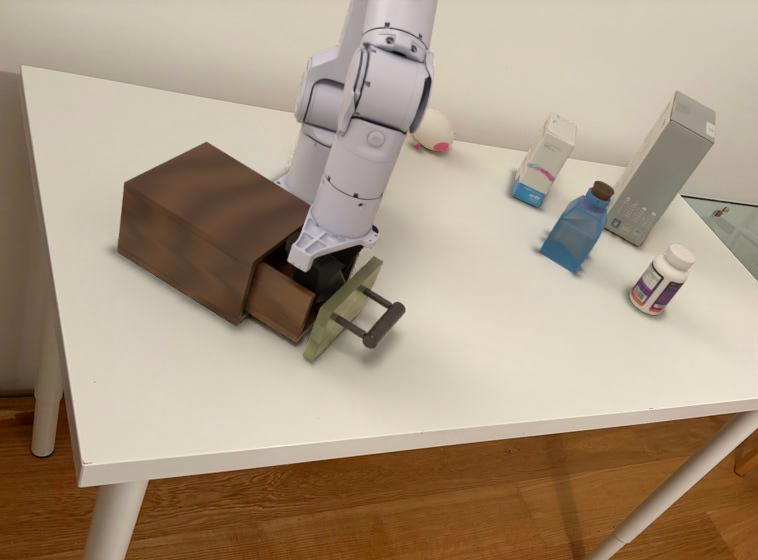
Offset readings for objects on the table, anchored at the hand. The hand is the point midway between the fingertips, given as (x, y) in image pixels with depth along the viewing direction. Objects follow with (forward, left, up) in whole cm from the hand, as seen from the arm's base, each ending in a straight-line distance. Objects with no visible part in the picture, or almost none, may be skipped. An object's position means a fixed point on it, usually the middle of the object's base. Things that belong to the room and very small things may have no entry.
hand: (316, 289), depth 74 cm
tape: (0, +1, 0) cm, 1 cm away
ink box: (-53, +10, -5) cm, 54 cm away
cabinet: (0, -12, -4) cm, 13 cm away
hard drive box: (-63, +26, -5) cm, 68 cm away
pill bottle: (-41, +34, -5) cm, 54 cm away
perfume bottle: (-41, +20, -5) cm, 46 cm away
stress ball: (-49, -7, -5) cm, 50 cm away
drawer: (0, 0, -3) cm, 4 cm away
